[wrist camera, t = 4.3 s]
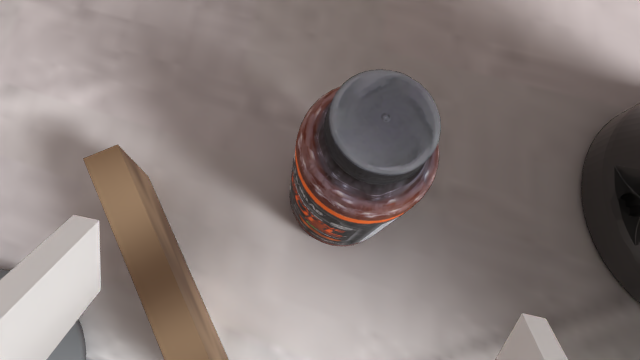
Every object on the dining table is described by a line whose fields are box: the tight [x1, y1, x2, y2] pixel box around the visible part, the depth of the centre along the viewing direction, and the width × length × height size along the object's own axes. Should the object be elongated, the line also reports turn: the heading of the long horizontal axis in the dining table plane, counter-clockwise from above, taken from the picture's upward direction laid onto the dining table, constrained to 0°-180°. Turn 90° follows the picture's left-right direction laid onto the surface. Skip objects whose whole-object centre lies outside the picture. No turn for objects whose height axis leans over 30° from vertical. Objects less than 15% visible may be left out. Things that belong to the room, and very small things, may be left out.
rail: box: [83, 145, 228, 360], centre depth 21 cm, size 12×2×5 cm, turn 28°
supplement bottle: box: [290, 69, 441, 246], centre depth 20 cm, size 6×6×11 cm
